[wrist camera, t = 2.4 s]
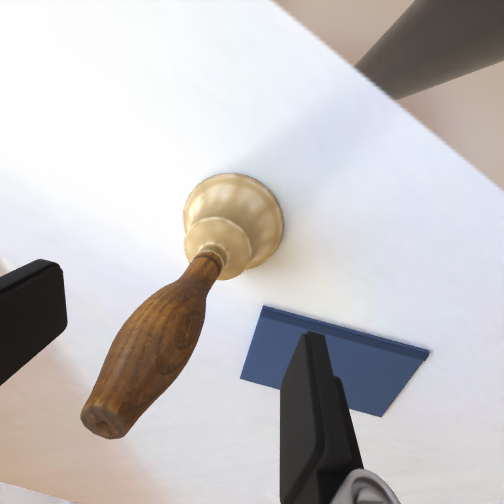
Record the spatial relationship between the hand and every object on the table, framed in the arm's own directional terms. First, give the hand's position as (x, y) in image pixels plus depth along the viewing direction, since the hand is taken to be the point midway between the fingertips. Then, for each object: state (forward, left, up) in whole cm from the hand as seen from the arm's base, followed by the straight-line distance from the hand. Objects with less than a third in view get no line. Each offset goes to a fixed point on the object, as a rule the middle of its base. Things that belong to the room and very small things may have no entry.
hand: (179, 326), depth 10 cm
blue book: (+12, +12, -12) cm, 21 cm away
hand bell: (0, 0, -12) cm, 12 cm away
